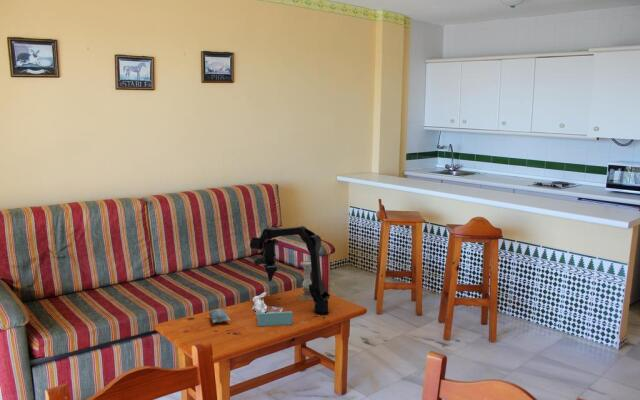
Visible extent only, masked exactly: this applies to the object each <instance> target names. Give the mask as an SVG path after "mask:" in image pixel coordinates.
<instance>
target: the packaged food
mask: <svg viewBox="0 0 640 400" xmlns="http://www.w3.org/2000/svg"><path fill="white" fill-rule="evenodd" d="M208 315H209V317H210V320H211V322H212V323H213V324H214V323H216V324H218V323H224V322H227V321H231V318H230V317H229V316H228V314H227V310H226V309H225V310H224V309H222V308H216V309H211V310H210V311H209V313H208Z"/></svg>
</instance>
